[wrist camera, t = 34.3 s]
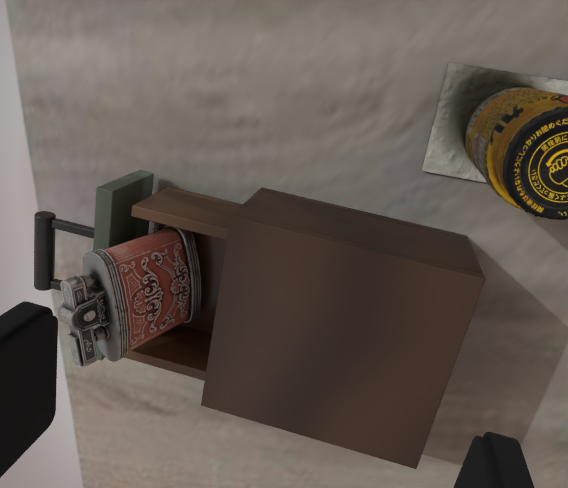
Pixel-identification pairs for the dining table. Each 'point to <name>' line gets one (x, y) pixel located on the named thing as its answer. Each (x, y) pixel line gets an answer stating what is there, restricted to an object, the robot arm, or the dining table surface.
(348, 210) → the cabinet
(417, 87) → the dining table surface
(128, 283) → the lighter
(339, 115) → the dining table surface
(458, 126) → the condiment
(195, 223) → the drawer
